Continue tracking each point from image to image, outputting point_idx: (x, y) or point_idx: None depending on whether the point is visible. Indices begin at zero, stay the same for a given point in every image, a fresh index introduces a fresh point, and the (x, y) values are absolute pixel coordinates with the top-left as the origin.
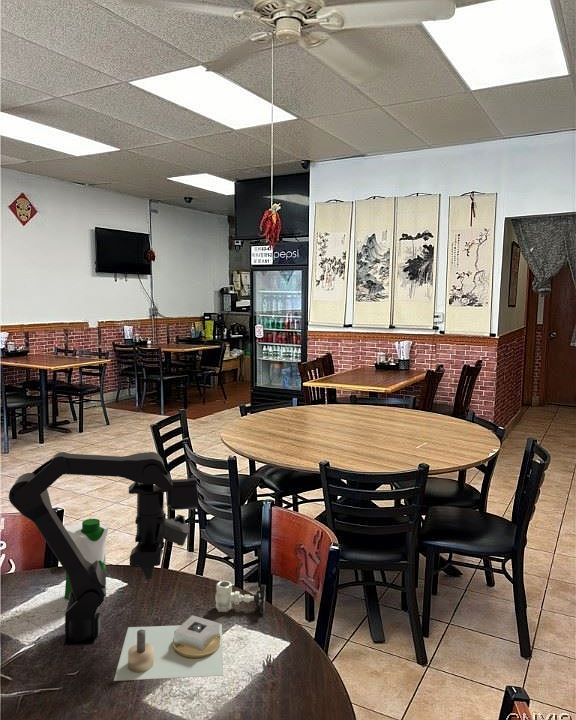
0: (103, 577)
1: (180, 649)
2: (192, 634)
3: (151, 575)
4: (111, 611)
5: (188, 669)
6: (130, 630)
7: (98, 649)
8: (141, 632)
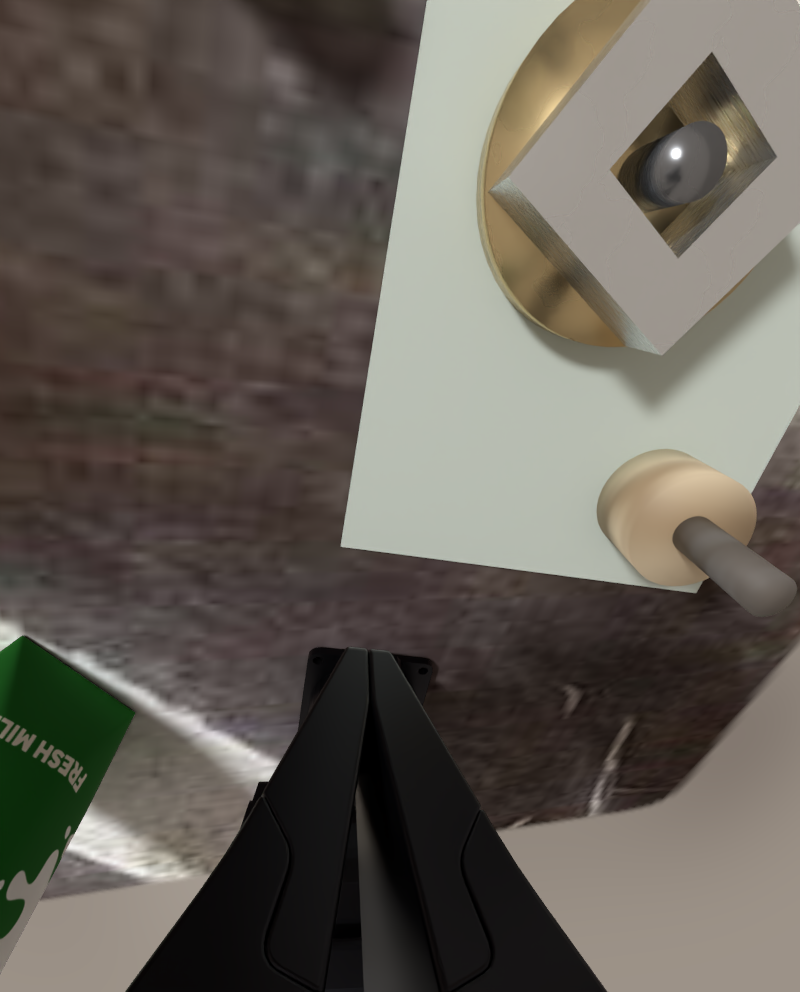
0: (343, 977)
1: (705, 314)
2: (760, 223)
3: (407, 690)
4: (169, 608)
5: None
6: (369, 536)
7: (462, 640)
8: (780, 596)
